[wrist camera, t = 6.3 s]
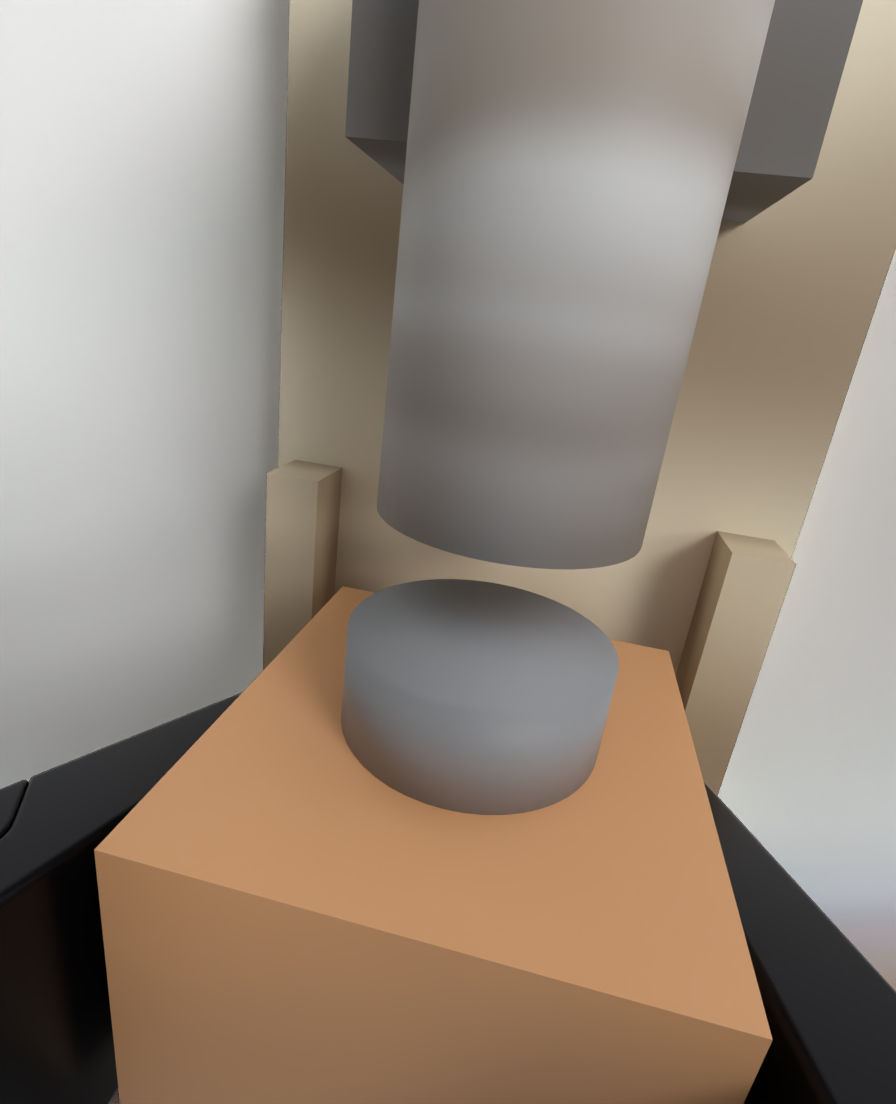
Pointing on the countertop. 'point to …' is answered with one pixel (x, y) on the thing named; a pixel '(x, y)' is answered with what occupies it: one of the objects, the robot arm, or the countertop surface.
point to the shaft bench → (728, 367)
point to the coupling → (433, 876)
